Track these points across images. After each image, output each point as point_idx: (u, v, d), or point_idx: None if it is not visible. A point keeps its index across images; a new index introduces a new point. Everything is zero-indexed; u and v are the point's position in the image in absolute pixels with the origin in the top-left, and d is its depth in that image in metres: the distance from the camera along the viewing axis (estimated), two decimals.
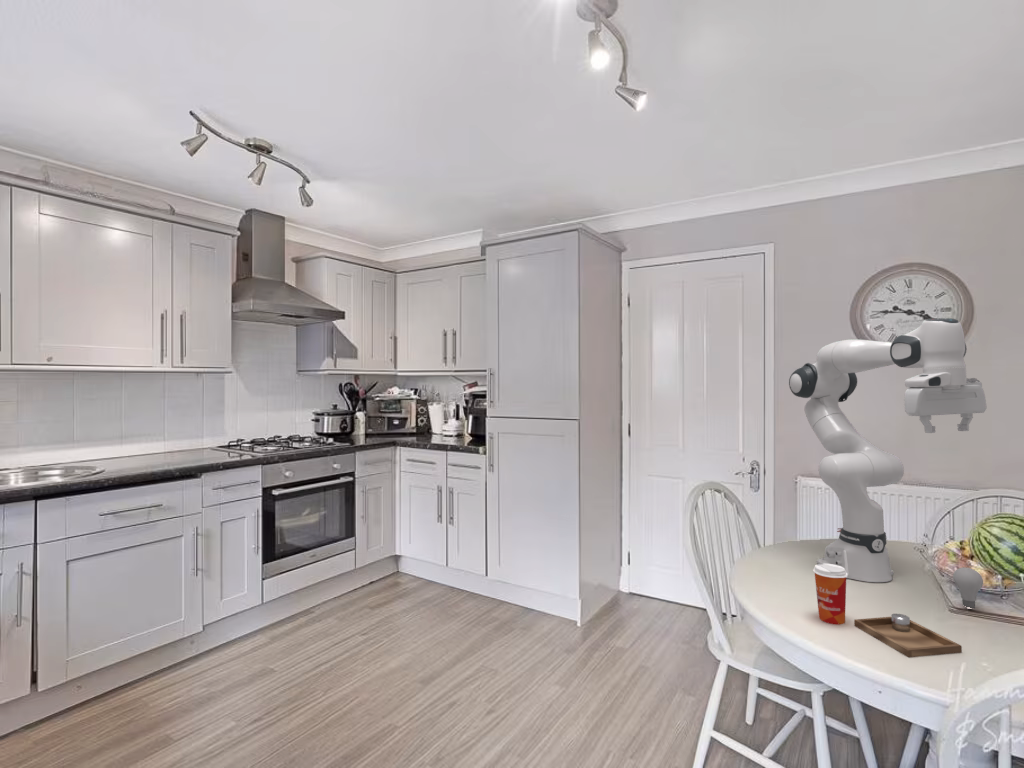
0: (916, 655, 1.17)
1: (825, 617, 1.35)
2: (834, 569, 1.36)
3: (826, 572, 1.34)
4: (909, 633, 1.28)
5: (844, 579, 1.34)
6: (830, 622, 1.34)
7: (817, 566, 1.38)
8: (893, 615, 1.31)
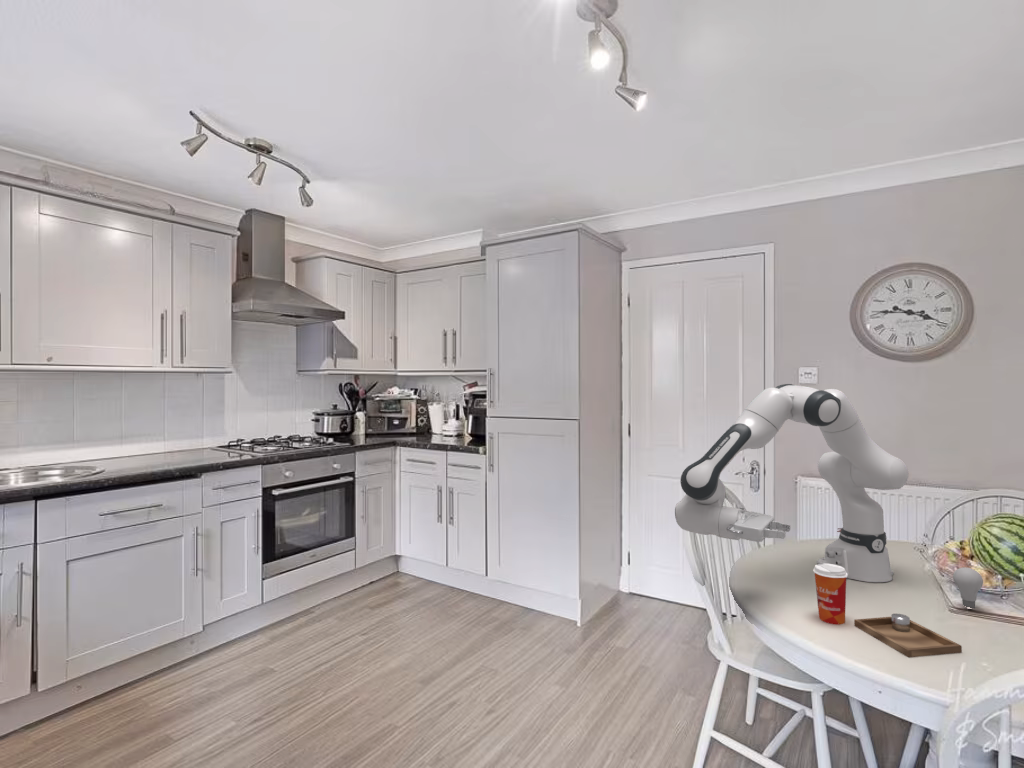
0: (916, 655, 1.17)
1: (825, 617, 1.35)
2: (834, 569, 1.36)
3: (826, 572, 1.34)
4: (909, 633, 1.28)
5: (844, 579, 1.34)
6: (830, 622, 1.34)
7: (817, 566, 1.38)
8: (893, 615, 1.31)
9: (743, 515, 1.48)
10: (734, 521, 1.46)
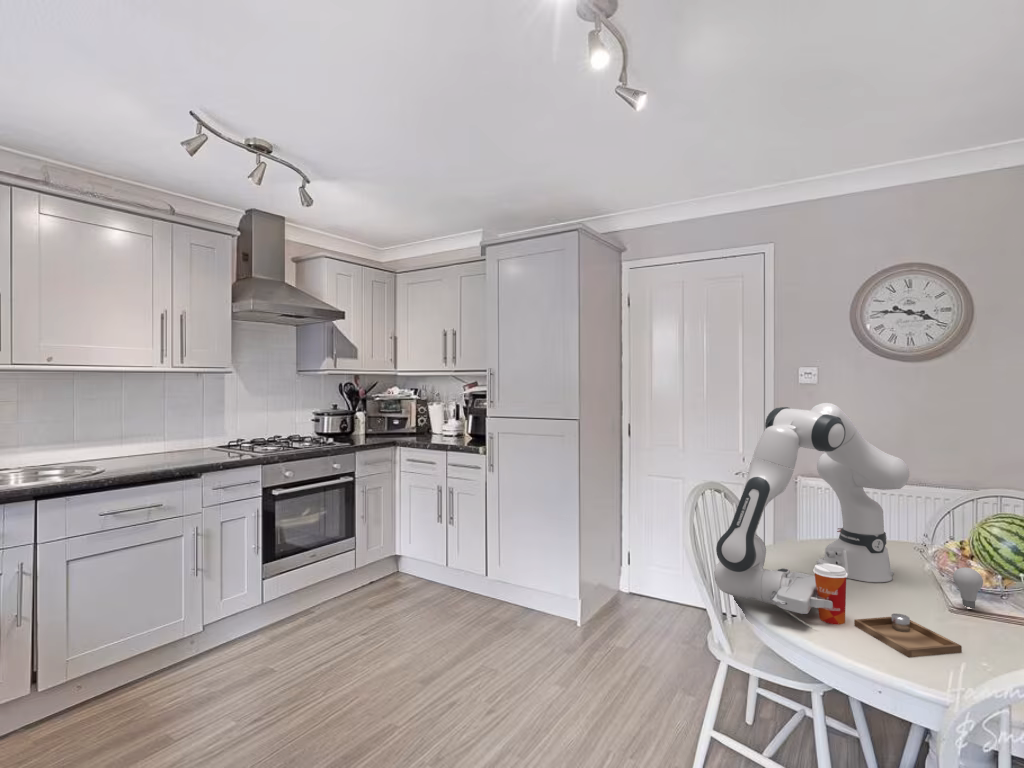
0: (916, 655, 1.17)
1: (825, 617, 1.35)
2: (834, 569, 1.36)
3: (826, 572, 1.34)
4: (909, 633, 1.28)
5: (844, 579, 1.34)
6: (830, 622, 1.34)
7: (817, 566, 1.38)
8: (893, 615, 1.31)
9: (787, 580, 1.42)
10: (777, 588, 1.41)
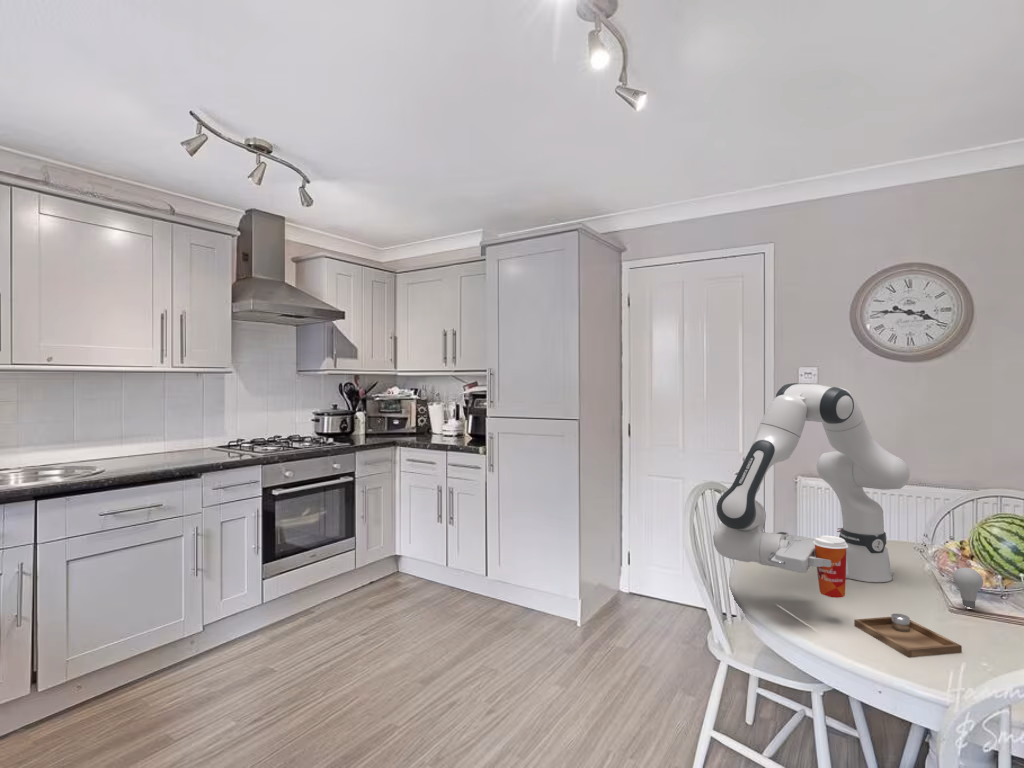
0: (916, 655, 1.17)
1: (828, 589, 1.34)
2: (835, 540, 1.36)
3: (830, 544, 1.34)
4: (909, 633, 1.28)
5: (845, 549, 1.34)
6: (833, 594, 1.34)
7: (818, 538, 1.37)
8: (893, 615, 1.31)
9: (785, 542, 1.42)
10: (776, 549, 1.41)
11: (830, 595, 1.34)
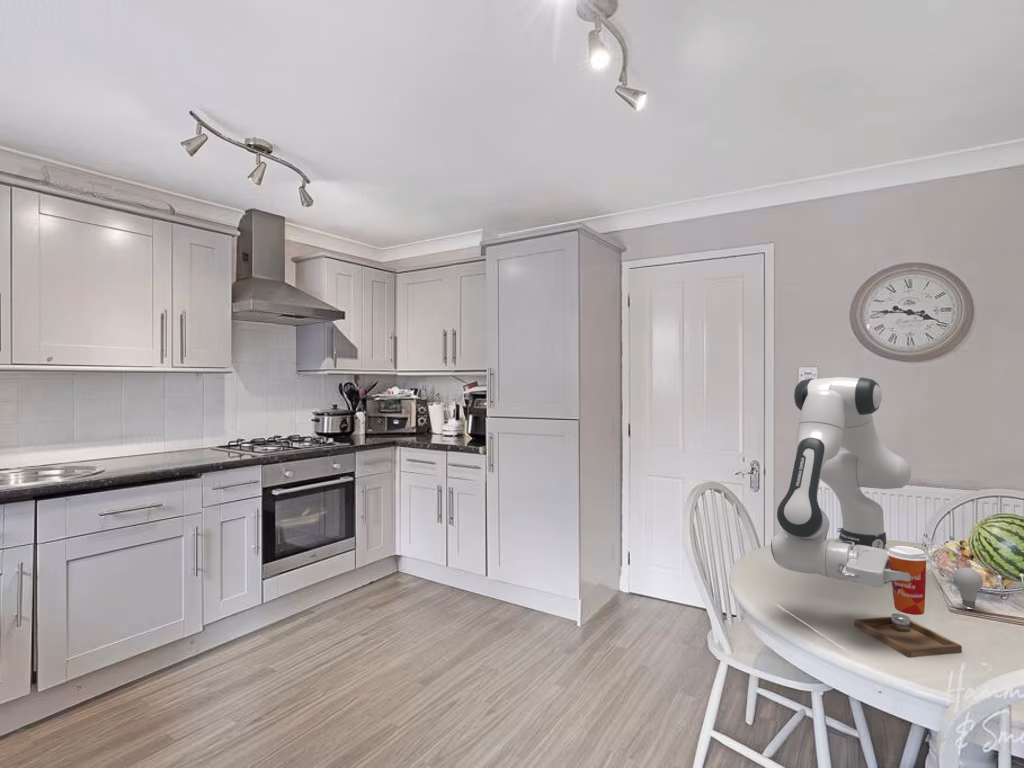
0: (916, 655, 1.17)
1: (906, 605, 1.22)
2: (913, 551, 1.23)
3: (908, 555, 1.21)
4: (909, 633, 1.28)
5: (925, 562, 1.22)
6: (912, 610, 1.21)
7: (893, 549, 1.25)
8: (893, 615, 1.31)
9: (854, 553, 1.30)
10: (845, 560, 1.29)
11: (908, 612, 1.22)
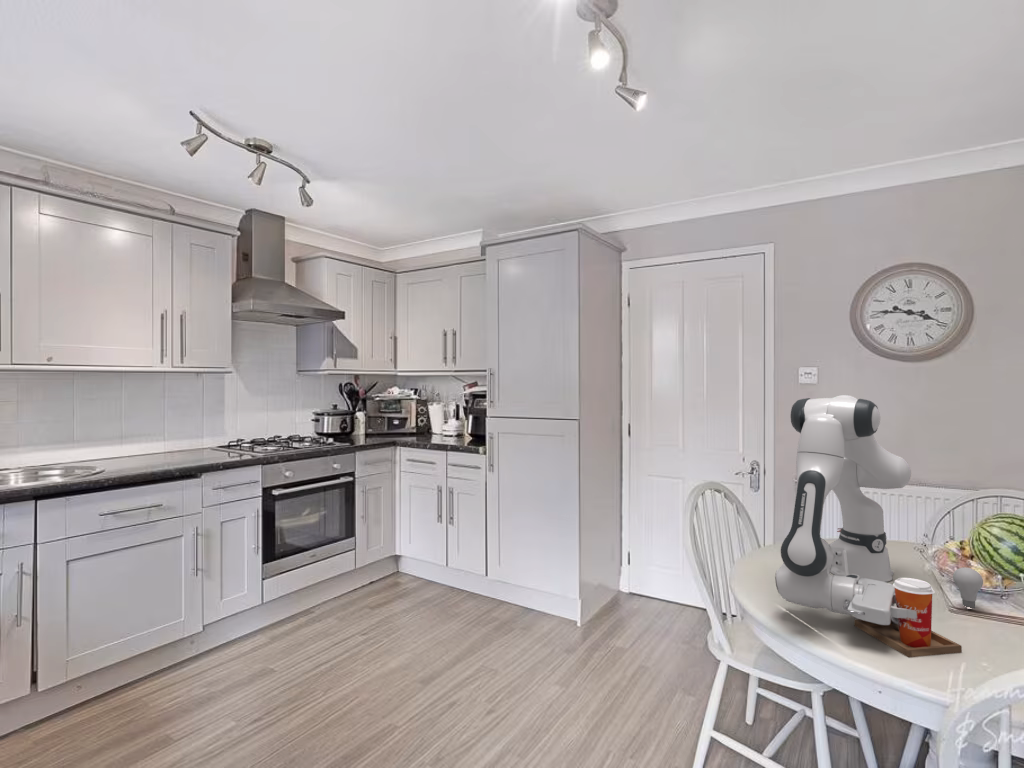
0: (916, 655, 1.17)
1: (912, 639, 1.21)
2: (919, 583, 1.22)
3: (914, 588, 1.20)
4: None
5: (931, 595, 1.21)
6: (918, 644, 1.21)
7: (899, 582, 1.24)
8: None
9: (860, 588, 1.29)
10: (850, 596, 1.28)
11: (914, 646, 1.21)
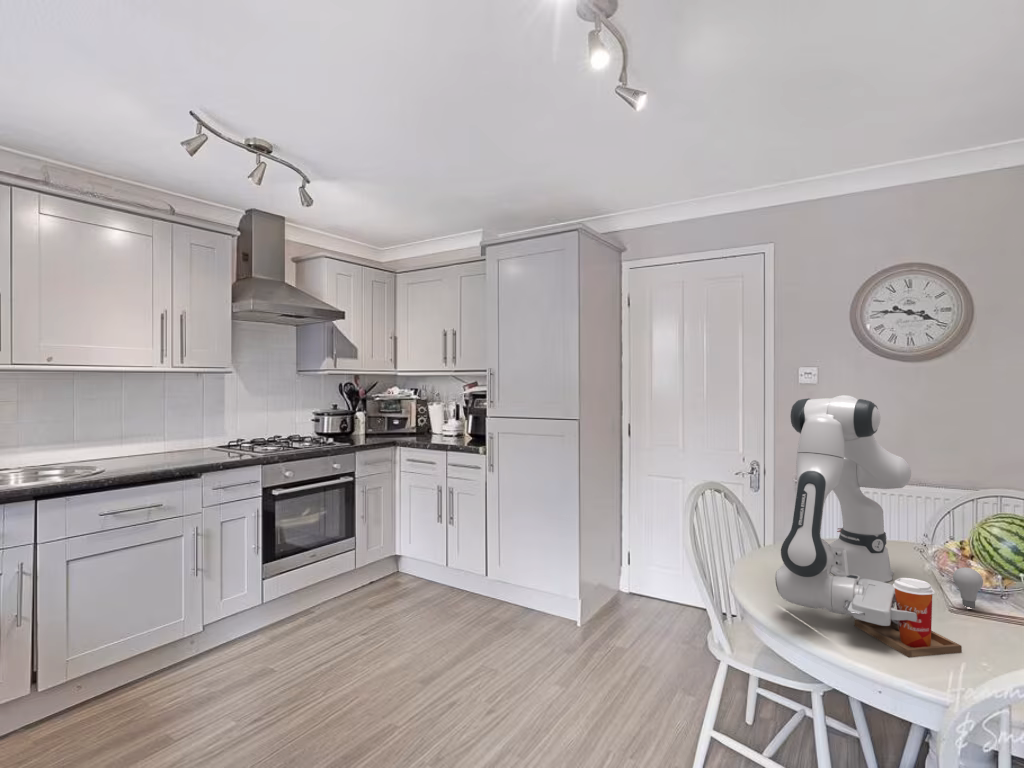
0: (916, 655, 1.17)
1: (912, 639, 1.21)
2: (919, 584, 1.22)
3: (914, 589, 1.20)
4: None
5: None
6: (918, 644, 1.21)
7: (899, 582, 1.24)
8: None
9: (860, 588, 1.29)
10: (850, 597, 1.28)
11: (914, 646, 1.21)
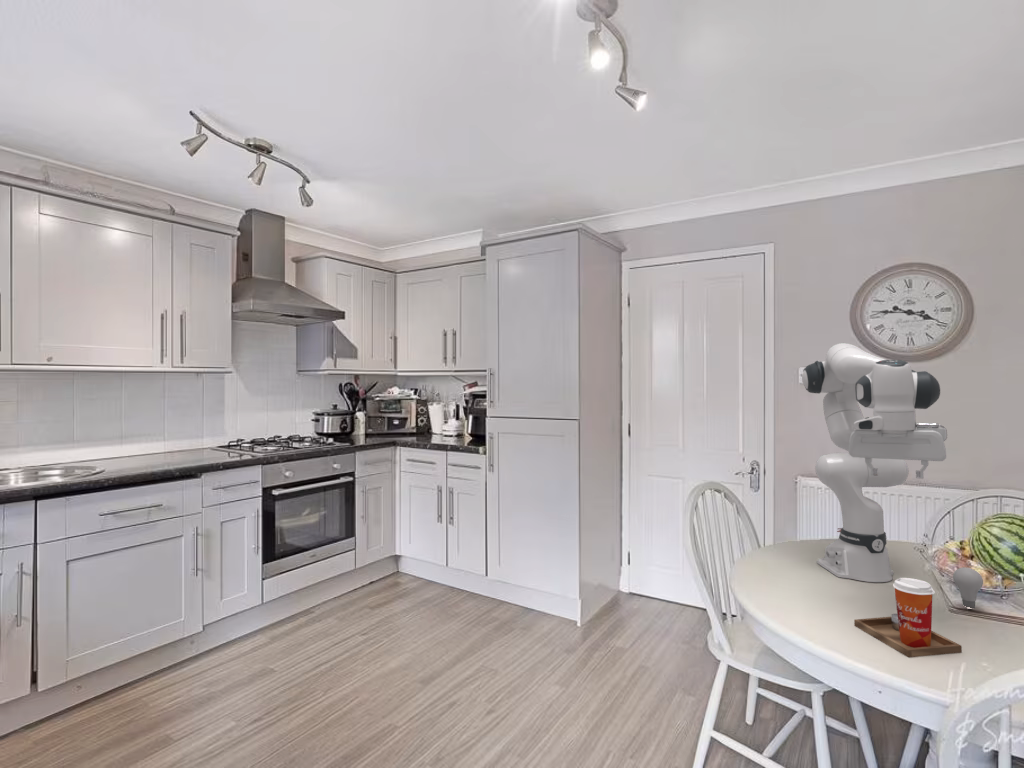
0: (916, 655, 1.17)
1: (912, 639, 1.21)
2: (919, 584, 1.22)
3: (914, 589, 1.20)
4: None
5: None
6: (918, 644, 1.21)
7: (899, 582, 1.24)
8: (893, 615, 1.31)
9: None
10: None
11: (914, 646, 1.21)
